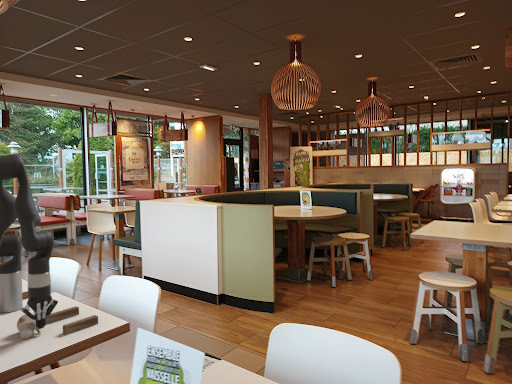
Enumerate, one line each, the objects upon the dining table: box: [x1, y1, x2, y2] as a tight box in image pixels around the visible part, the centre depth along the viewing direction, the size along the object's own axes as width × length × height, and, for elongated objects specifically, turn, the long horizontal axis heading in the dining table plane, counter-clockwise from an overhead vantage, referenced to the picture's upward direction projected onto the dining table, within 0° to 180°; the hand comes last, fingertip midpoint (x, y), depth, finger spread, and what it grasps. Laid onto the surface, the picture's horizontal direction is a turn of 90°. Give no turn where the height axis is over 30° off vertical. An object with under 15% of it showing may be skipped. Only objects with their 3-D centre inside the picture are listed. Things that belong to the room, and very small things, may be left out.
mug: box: [16, 314, 42, 340], centre depth 140 cm, size 8×10×10 cm
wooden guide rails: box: [45, 306, 99, 335], centre depth 150 cm, size 18×13×3 cm
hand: (40, 328), depth 141 cm, fingers closed
